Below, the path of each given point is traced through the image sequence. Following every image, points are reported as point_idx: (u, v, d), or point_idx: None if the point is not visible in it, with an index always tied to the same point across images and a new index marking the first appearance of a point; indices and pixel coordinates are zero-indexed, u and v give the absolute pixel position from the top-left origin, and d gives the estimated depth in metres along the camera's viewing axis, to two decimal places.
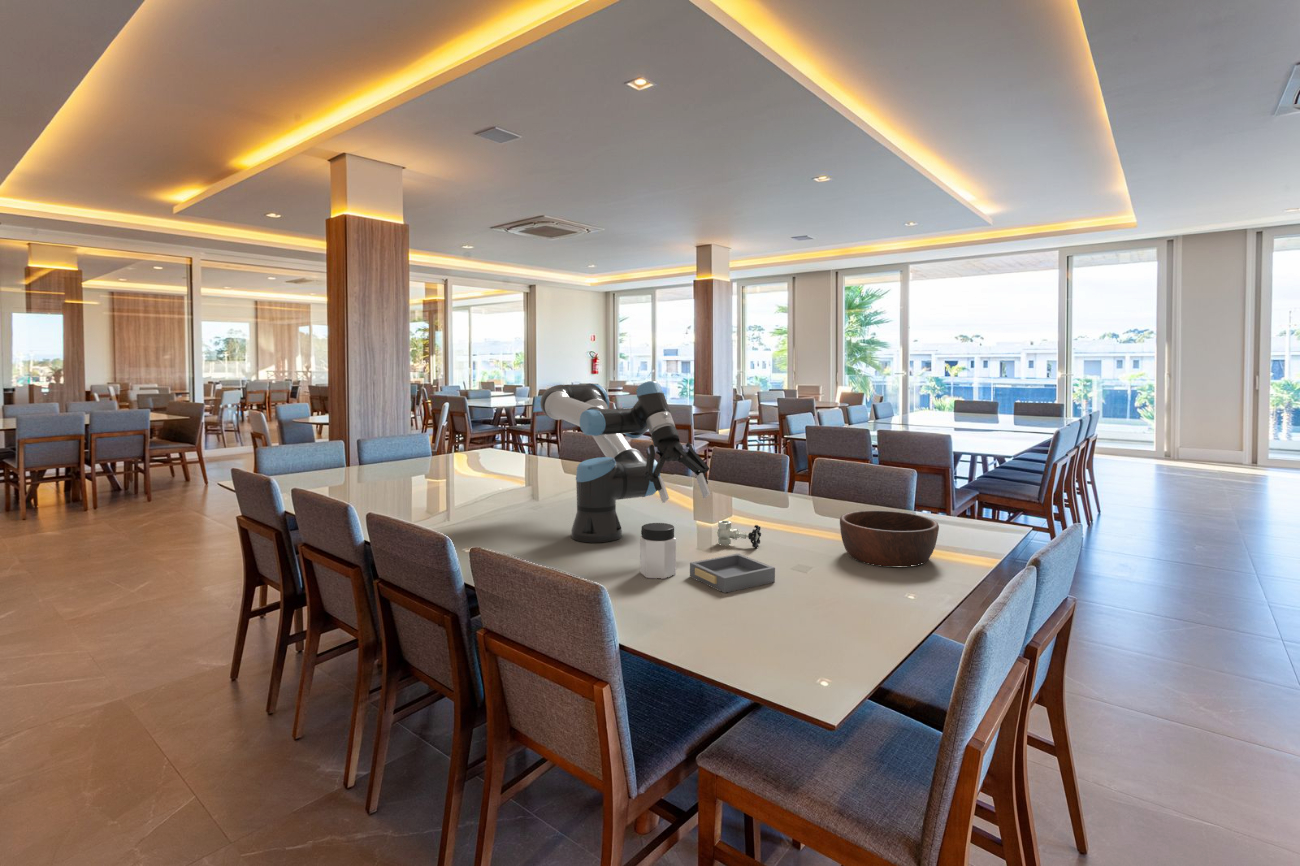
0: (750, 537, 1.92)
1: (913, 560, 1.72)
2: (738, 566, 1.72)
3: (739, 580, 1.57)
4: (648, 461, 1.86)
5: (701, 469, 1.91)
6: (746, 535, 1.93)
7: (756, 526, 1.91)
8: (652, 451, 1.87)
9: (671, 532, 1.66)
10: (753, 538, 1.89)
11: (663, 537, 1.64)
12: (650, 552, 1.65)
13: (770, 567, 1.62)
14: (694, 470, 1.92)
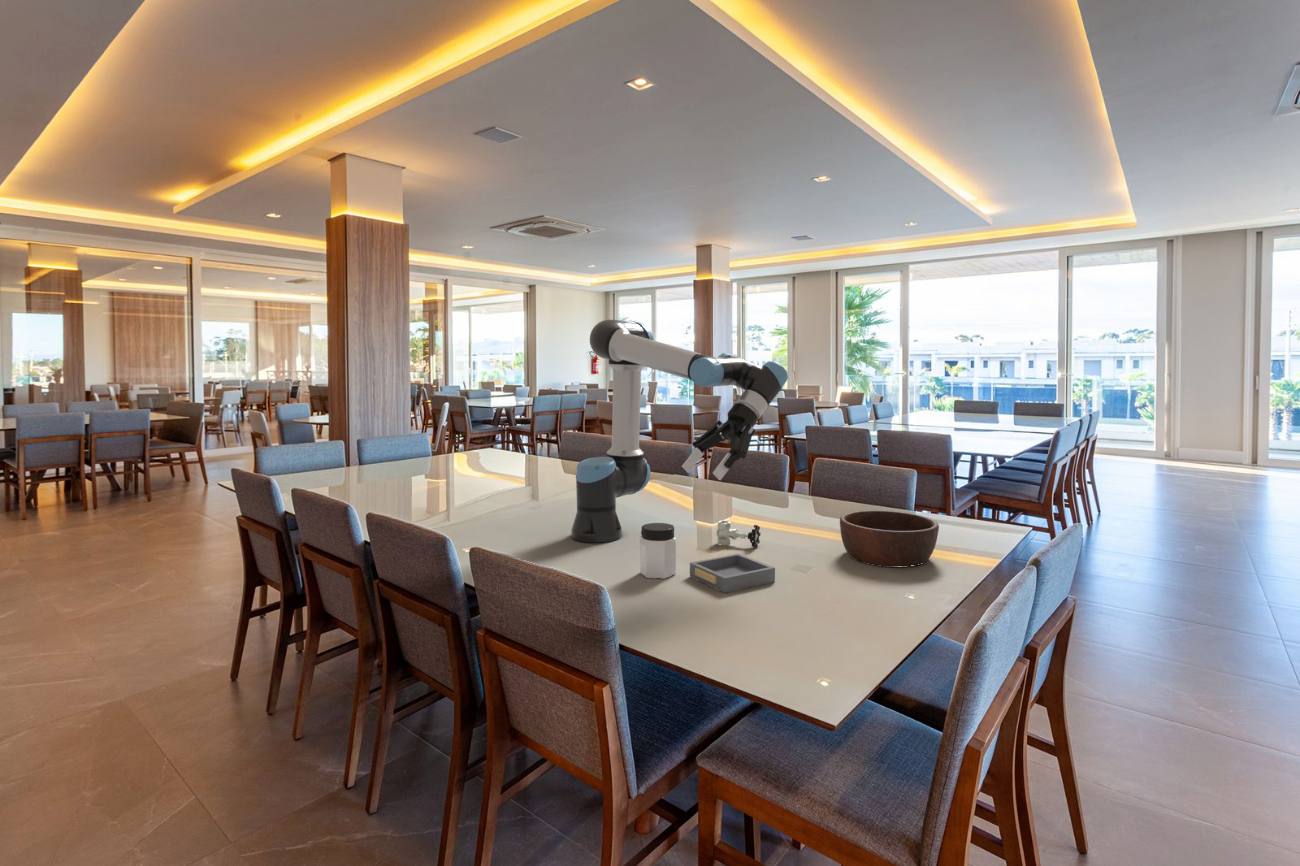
0: (749, 537, 1.92)
1: (913, 560, 1.72)
2: (738, 566, 1.72)
3: (739, 580, 1.57)
4: (747, 441, 1.69)
5: None
6: (745, 535, 1.93)
7: (755, 526, 1.91)
8: None
9: (671, 532, 1.66)
10: (752, 538, 1.89)
11: (663, 537, 1.64)
12: (650, 552, 1.65)
13: (770, 567, 1.62)
14: (704, 445, 1.80)
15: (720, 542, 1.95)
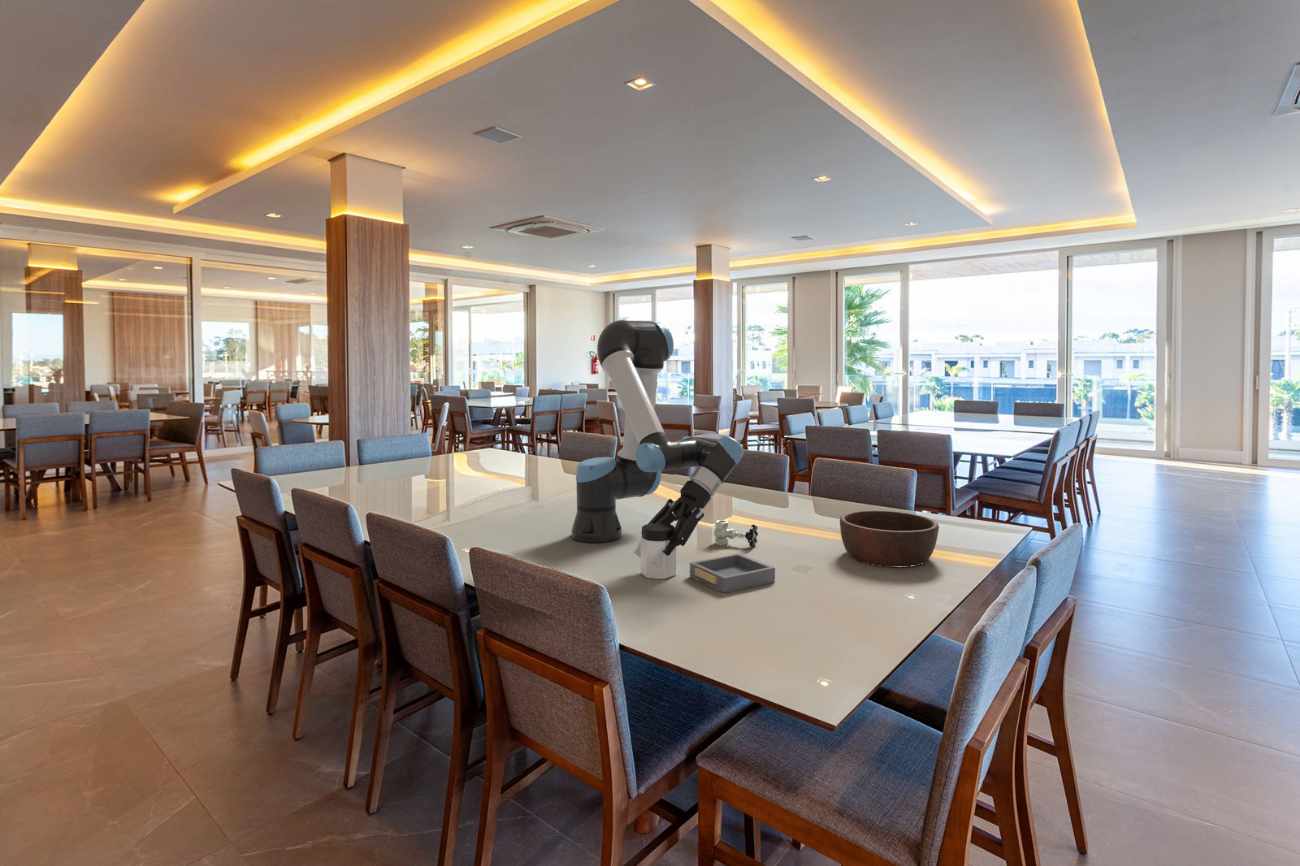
0: (747, 536, 1.92)
1: (913, 560, 1.72)
2: (738, 566, 1.72)
3: (739, 580, 1.57)
4: (691, 527, 1.65)
5: None
6: (743, 534, 1.93)
7: (753, 525, 1.92)
8: None
9: (671, 532, 1.65)
10: (750, 537, 1.90)
11: (663, 537, 1.64)
12: (650, 552, 1.64)
13: (770, 567, 1.62)
14: None
15: (718, 542, 1.95)
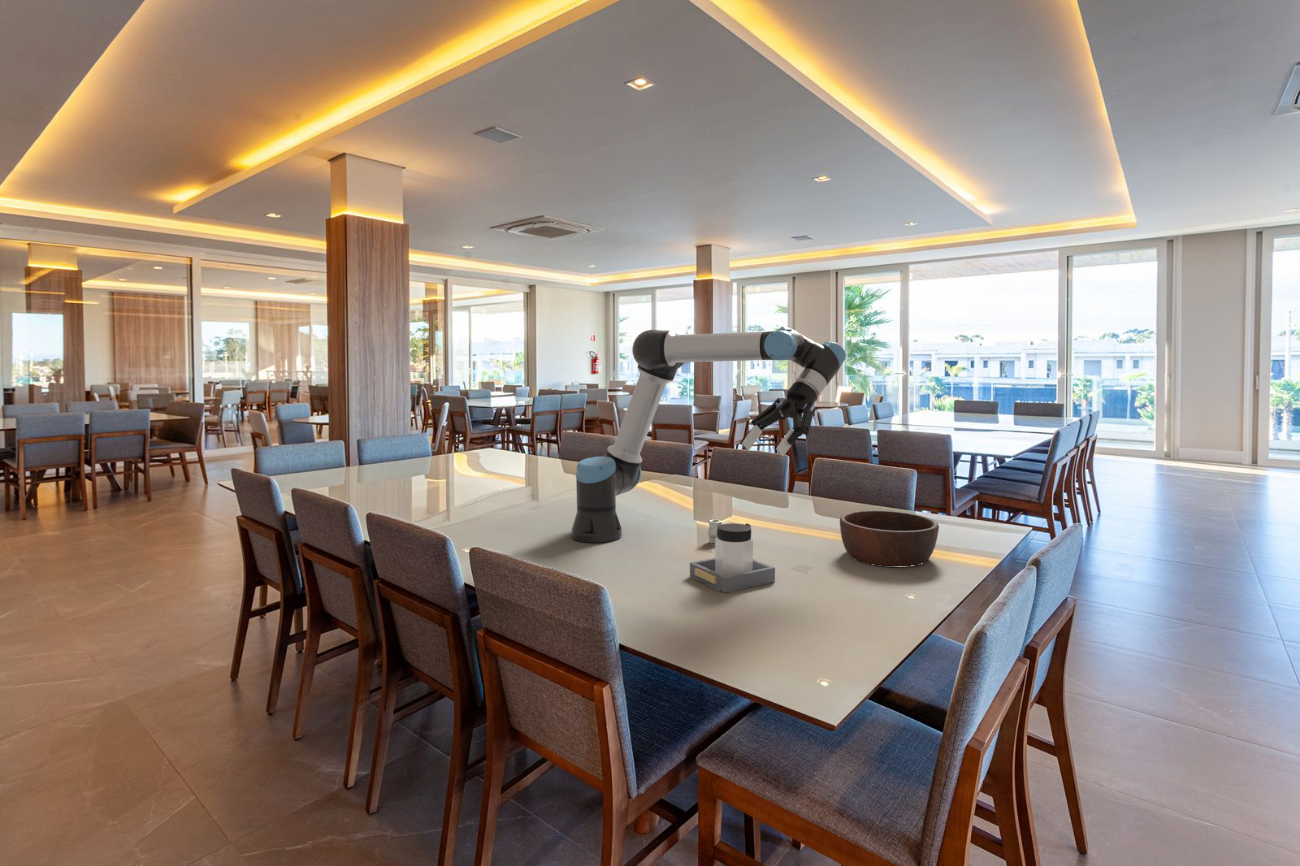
0: None
1: (913, 560, 1.72)
2: None
3: (739, 580, 1.57)
4: (809, 418, 1.73)
5: None
6: None
7: (747, 524, 1.93)
8: None
9: (749, 533, 1.60)
10: None
11: (741, 538, 1.59)
12: (727, 554, 1.60)
13: (770, 567, 1.62)
14: (763, 423, 1.84)
15: (712, 541, 1.96)
